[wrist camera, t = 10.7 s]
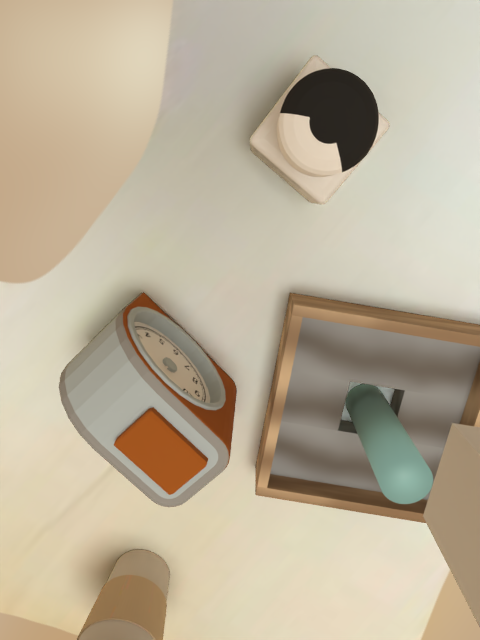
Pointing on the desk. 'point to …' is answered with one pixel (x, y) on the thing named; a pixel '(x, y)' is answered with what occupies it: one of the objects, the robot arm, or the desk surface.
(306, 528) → the desk surface
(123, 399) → the alarm clock
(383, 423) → the peg
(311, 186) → the container
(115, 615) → the coffee cup
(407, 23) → the desk surface
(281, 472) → the socket box
